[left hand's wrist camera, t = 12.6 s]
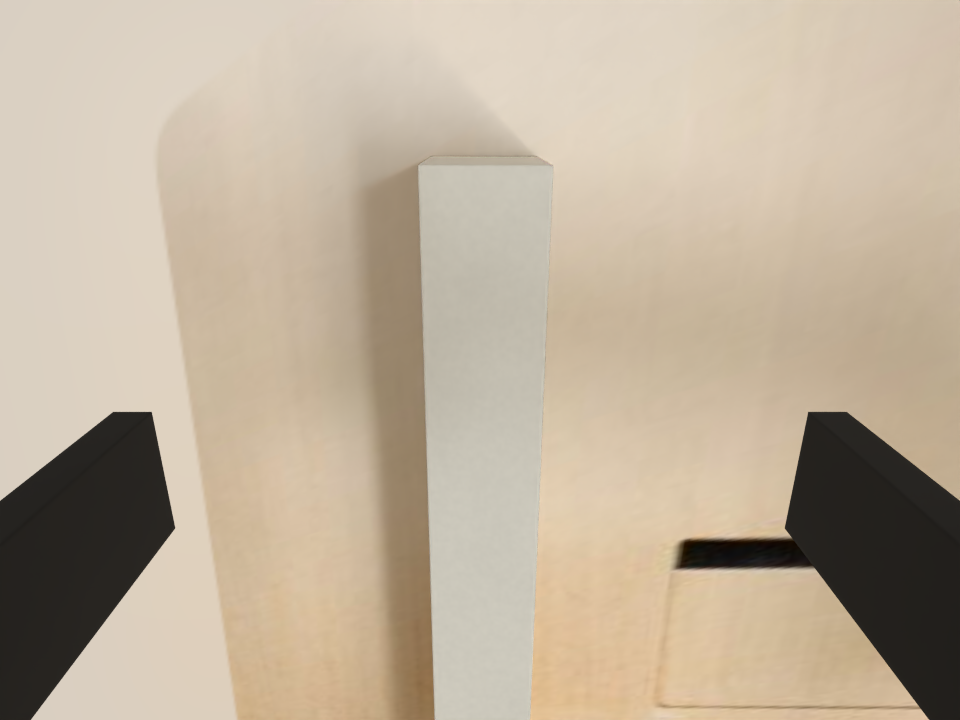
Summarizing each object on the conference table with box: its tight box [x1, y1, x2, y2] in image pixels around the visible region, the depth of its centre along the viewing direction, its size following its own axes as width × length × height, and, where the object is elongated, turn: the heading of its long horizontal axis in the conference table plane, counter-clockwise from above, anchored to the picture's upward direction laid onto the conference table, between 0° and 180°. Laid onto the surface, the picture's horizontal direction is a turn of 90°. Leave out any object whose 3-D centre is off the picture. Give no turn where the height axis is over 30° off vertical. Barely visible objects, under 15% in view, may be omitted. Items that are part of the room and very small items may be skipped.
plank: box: [418, 156, 553, 720], centre depth 40 cm, size 53×6×8 cm, turn 0°
